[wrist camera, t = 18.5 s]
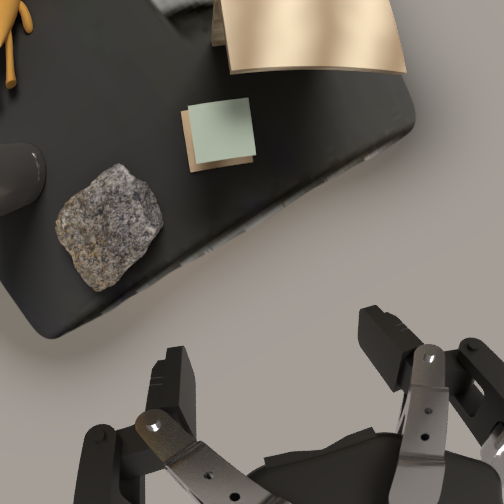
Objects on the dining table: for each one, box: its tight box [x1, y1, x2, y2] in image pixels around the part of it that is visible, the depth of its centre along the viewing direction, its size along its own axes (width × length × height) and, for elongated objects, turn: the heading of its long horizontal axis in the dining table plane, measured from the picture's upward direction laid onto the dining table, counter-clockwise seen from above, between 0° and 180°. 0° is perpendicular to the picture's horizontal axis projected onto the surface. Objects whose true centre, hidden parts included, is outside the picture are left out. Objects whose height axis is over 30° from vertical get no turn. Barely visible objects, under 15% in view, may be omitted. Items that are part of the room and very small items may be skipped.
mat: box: [181, 110, 253, 172], centre depth 35 cm, size 8×8×1 cm
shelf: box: [211, 0, 406, 75], centre depth 25 cm, size 15×10×17 cm, turn 97°
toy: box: [0, 0, 33, 89], centre depth 19 cm, size 13×14×30 cm
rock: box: [55, 163, 164, 292], centre depth 34 cm, size 13×6×15 cm
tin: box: [188, 98, 256, 164], centre depth 29 cm, size 5×5×12 cm
